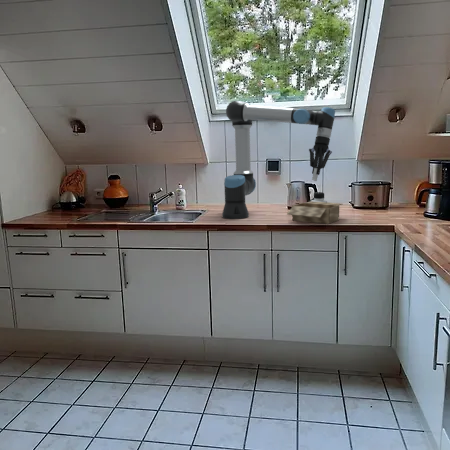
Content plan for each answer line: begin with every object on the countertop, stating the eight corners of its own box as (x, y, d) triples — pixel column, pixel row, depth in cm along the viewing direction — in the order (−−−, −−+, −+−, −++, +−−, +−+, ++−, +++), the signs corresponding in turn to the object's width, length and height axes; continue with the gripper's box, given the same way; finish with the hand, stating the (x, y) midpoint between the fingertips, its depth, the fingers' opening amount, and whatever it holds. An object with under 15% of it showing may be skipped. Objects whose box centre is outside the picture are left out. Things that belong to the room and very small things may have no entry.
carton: (291, 220, 242) (291, 205, 240) (308, 215, 256) (308, 201, 254) (329, 224, 228) (329, 208, 226) (345, 218, 242) (345, 203, 241)
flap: (293, 206, 239) (287, 214, 235) (293, 205, 238) (286, 213, 234) (325, 209, 227) (319, 217, 223) (325, 208, 227) (319, 217, 222)
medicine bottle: (327, 213, 261) (327, 192, 258) (316, 214, 258) (316, 193, 256) (321, 211, 267) (321, 191, 265) (310, 212, 265) (310, 192, 263)
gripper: (309, 134, 241) (300, 177, 242) (331, 136, 233) (322, 180, 234) (315, 138, 247) (307, 180, 248) (337, 139, 239) (328, 183, 240)
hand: (314, 180), depth 241 cm, fingers closed
